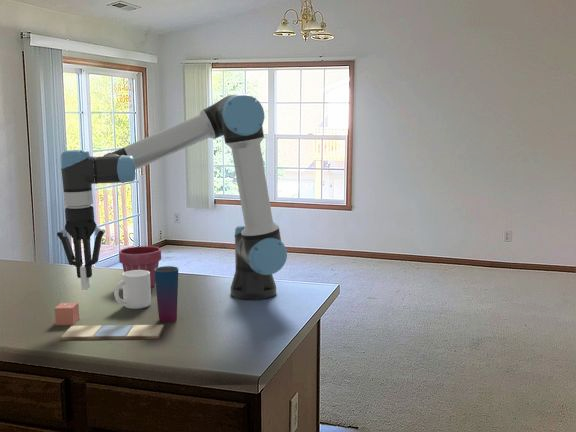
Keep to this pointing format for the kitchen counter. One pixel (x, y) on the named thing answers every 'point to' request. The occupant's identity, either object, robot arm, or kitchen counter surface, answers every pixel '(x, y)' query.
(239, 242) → the robot arm
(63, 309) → the die
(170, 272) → the cup
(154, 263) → the plant pot
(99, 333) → the multicoloured flat piece
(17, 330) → the kitchen counter surface
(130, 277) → the mug
